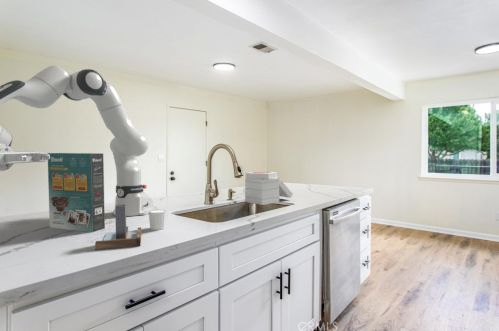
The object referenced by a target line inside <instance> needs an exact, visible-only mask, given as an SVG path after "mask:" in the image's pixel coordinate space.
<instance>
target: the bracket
mask: <svg viewBox="0 0 499 331" xmlns="http://www.w3.org/2000/svg"><path fill="white" fill-rule="evenodd" d="M114 210H115V214H116V215H115V232H116V239H126V238H127V234H128V231H129V226H127V216H126V204H122V205H116V207H115V206H114Z"/></svg>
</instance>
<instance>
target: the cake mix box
mask: <svg viewBox="0 0 499 331" xmlns="http://www.w3.org/2000/svg"><path fill="white" fill-rule="evenodd" d="M47 154H49V155H50V159H49V160H47V176H48V177H47V178H48V180H47V181H48V215H49V216H48V217H49V220H48V221H49V228H52V229H61V230H69V231H79V232H86V233H87V232H89V233H94V232H97V231H100V230H103V229H106V228H105V227H106V226H105V224H106V223H105V222H106V219H105V178H104V176H105V175H104V171H105V170H104V169H105V168H104V153H98V152H97V153H95V152H93V153H92V152H87V153H86V152H84V153H83V152H79V153H78V152H48V153H47Z"/></svg>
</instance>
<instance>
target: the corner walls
mask: <svg viewBox="0 0 499 331" xmlns="http://www.w3.org/2000/svg"><path fill="white" fill-rule="evenodd" d="M136 230H137V238H128V239H116V240H104V241H103V240H95V242H94V243H95V244H94V246H95V249H94V250H95V251H101V249H102V248H106V249H105V250H112V249H123V247H122V246H128V247H127V248H130V247H129V246H132V247H131V248H133V245H140V246H141V243H142V231H141V230H142V227H137V229H136ZM111 247H113V248H112V249H110V248H111ZM114 247H115V248H114ZM116 247H117V248H116ZM118 247H120V248H118ZM121 247H122V248H121ZM134 247H136V246H134ZM100 248H101V249H100ZM108 248H109V249H108ZM99 249H100V250H99ZM102 250H103V249H102Z"/></svg>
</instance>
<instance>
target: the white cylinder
mask: <svg viewBox="0 0 499 331" xmlns="http://www.w3.org/2000/svg"><path fill="white" fill-rule="evenodd" d="M148 219H149V228H150V230H151V231H162V230H164V229H166V222H167V221H166V220H167V210H166V209H157V210H152V211H149V213H148Z"/></svg>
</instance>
